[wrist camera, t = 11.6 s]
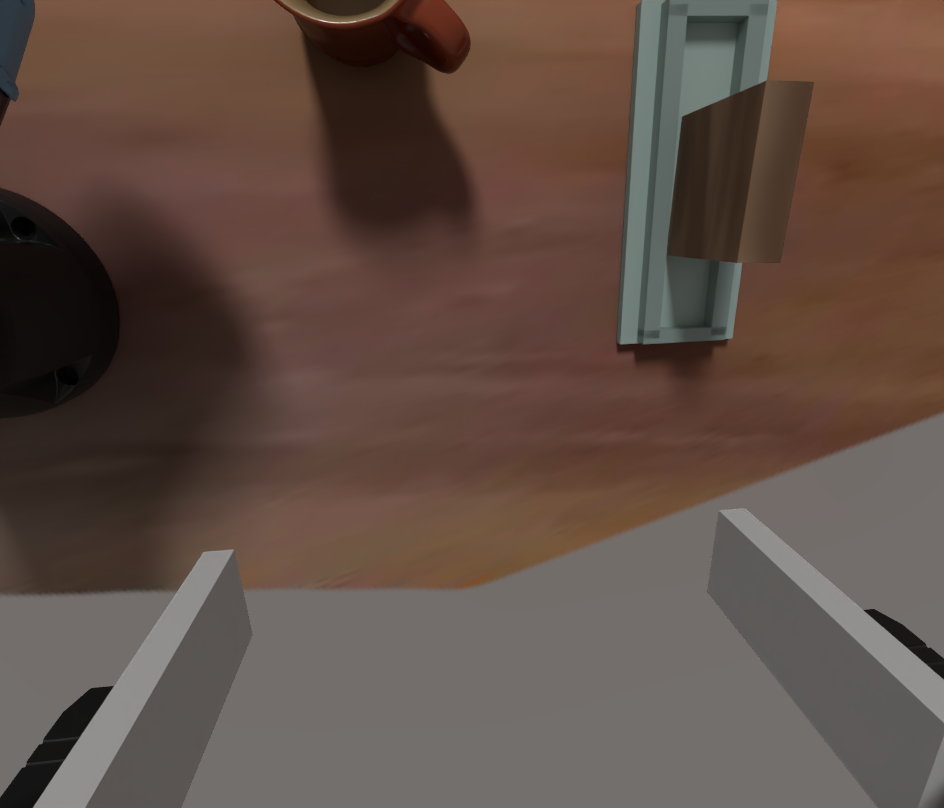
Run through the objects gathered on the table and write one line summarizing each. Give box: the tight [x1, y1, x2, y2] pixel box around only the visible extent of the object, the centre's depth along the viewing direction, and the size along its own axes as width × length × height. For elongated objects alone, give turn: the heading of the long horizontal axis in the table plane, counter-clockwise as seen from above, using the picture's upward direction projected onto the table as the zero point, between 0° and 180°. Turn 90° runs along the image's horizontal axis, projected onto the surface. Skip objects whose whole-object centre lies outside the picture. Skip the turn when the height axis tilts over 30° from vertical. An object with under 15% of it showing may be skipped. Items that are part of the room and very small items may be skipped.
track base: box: [616, 0, 777, 344], centre depth 36 cm, size 9×22×2 cm, turn 2°
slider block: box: [666, 81, 814, 263], centre depth 32 cm, size 3×9×9 cm, turn 0°
